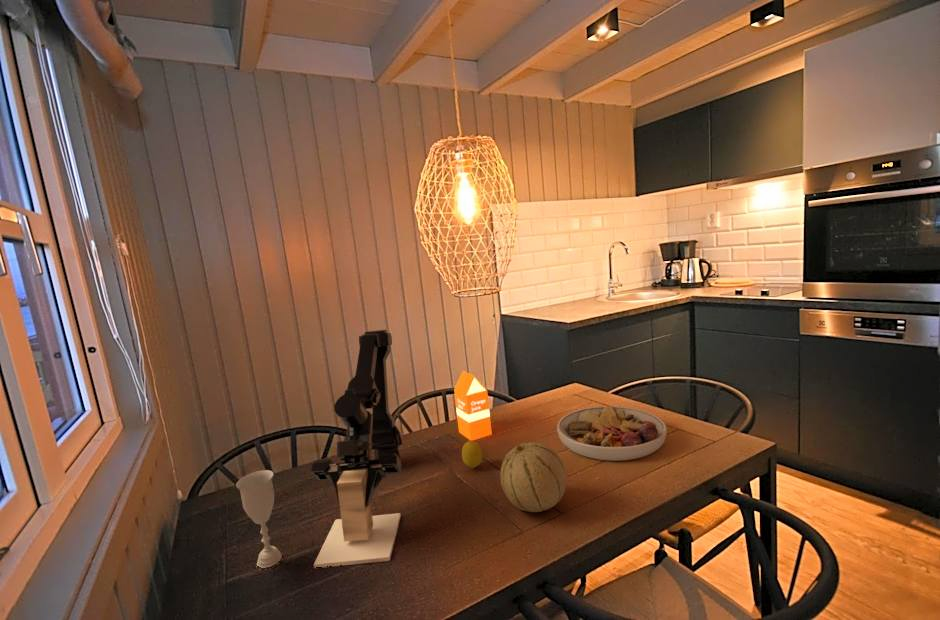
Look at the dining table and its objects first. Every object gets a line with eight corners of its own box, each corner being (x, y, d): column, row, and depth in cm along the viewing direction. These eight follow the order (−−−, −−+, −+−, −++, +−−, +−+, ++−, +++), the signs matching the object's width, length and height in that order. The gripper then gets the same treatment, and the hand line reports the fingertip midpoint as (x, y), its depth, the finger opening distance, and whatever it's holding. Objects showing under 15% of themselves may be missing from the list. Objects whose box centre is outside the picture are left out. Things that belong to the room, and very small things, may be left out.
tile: (336, 522, 105) (335, 519, 104) (400, 516, 104) (400, 513, 104) (314, 568, 90) (313, 564, 90) (389, 560, 90) (389, 557, 89)
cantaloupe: (583, 510, 99) (578, 445, 97) (526, 535, 93) (520, 466, 91) (543, 482, 112) (538, 425, 110) (491, 502, 106) (485, 441, 104)
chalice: (259, 551, 97) (245, 472, 94) (291, 546, 97) (278, 468, 95) (245, 576, 90) (229, 491, 87) (280, 570, 90) (265, 486, 88)
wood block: (350, 526, 99) (343, 471, 98) (373, 525, 99) (366, 469, 97) (344, 541, 94) (336, 483, 93) (368, 539, 94) (361, 481, 92)
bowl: (537, 445, 134) (535, 420, 133) (596, 414, 153) (594, 391, 152) (630, 478, 111) (629, 447, 110) (686, 436, 130) (685, 410, 129)
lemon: (481, 473, 120) (478, 444, 119) (461, 473, 121) (458, 445, 120) (485, 463, 126) (482, 435, 125) (465, 463, 127) (462, 436, 126)
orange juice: (479, 425, 152) (473, 368, 150) (492, 434, 144) (486, 373, 142) (458, 432, 149) (451, 373, 146) (470, 441, 141) (463, 379, 138)
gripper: (306, 425, 98) (294, 502, 88) (392, 417, 97) (390, 492, 88) (323, 444, 107) (314, 515, 97) (402, 436, 106) (401, 507, 97)
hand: (353, 507), depth 95 cm, fingers closed on wood block, 5 cm apart
